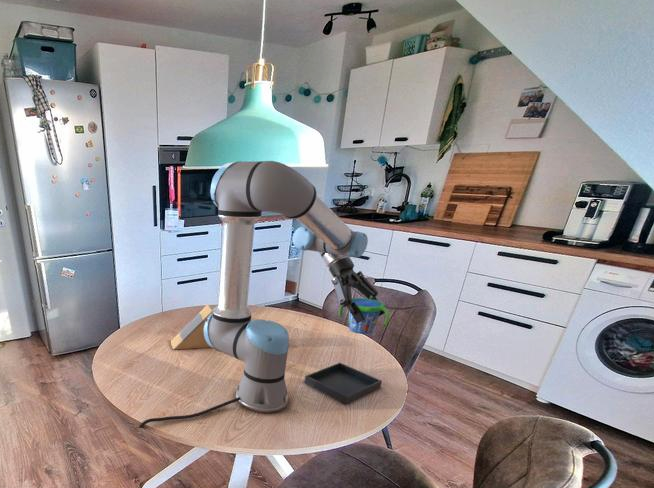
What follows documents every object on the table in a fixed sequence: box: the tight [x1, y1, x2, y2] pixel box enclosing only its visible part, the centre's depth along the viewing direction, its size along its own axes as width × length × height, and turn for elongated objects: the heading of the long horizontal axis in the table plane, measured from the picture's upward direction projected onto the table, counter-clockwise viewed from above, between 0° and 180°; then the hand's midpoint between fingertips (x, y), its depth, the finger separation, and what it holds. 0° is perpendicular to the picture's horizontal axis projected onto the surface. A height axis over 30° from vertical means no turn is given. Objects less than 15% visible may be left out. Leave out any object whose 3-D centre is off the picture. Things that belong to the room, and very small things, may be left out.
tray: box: [304, 362, 383, 405], centre depth 122 cm, size 17×15×2 cm
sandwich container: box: [170, 303, 213, 350], centre depth 150 cm, size 9×15×15 cm, turn 98°
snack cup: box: [338, 297, 390, 335], centre depth 130 cm, size 16×10×10 cm
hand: (371, 318), depth 128 cm, fingers closed on snack cup, 11 cm apart
